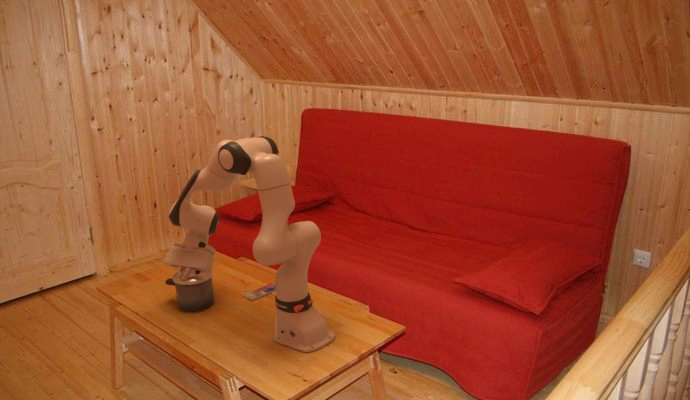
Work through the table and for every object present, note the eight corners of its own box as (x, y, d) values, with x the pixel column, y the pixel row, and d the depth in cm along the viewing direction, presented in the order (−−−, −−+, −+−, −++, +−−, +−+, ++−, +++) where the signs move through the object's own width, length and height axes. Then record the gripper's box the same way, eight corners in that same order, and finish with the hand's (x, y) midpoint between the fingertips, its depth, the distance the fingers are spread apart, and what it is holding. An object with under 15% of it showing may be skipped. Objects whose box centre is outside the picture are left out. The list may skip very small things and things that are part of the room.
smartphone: (241, 295, 226) (271, 282, 236) (241, 297, 226) (271, 284, 236) (251, 300, 221) (281, 287, 230) (252, 302, 221) (282, 289, 231)
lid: (190, 267, 228) (189, 261, 228) (221, 272, 223) (220, 265, 222) (164, 282, 214) (163, 275, 214) (196, 287, 209) (196, 280, 208)
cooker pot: (181, 291, 233) (177, 267, 229) (221, 298, 225) (218, 273, 222) (158, 307, 220) (154, 281, 217) (200, 314, 213) (196, 288, 210)
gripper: (168, 239, 219) (155, 272, 213) (211, 245, 211) (199, 279, 205) (177, 246, 224) (164, 278, 218) (219, 251, 216) (207, 285, 211)
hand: (181, 279), depth 212 cm, fingers closed
